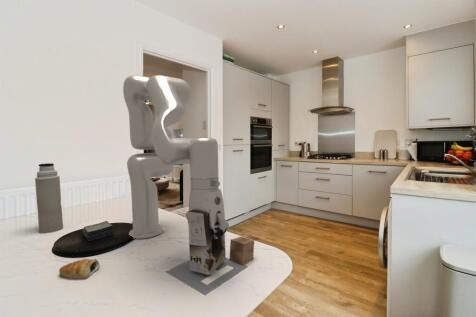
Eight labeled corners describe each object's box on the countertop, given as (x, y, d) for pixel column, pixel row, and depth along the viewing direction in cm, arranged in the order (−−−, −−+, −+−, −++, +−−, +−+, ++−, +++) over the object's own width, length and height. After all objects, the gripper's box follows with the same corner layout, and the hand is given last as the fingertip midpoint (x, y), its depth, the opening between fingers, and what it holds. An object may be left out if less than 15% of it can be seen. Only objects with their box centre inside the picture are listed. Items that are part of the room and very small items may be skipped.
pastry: (52, 280, 63) (51, 266, 62) (70, 267, 69) (69, 254, 69) (87, 280, 63) (87, 266, 62) (102, 267, 69) (101, 254, 69)
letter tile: (165, 273, 65) (165, 271, 65) (209, 252, 77) (208, 250, 77) (205, 297, 54) (205, 295, 54) (248, 268, 67) (248, 266, 67)
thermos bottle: (58, 225, 106) (53, 162, 104) (66, 228, 102) (61, 163, 100) (35, 231, 99) (30, 164, 97) (43, 234, 95) (38, 164, 93)
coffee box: (209, 275, 61) (207, 213, 60) (189, 270, 64) (186, 211, 62) (226, 259, 69) (224, 204, 68) (207, 255, 72) (205, 202, 71)
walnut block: (229, 260, 70) (230, 239, 70) (240, 255, 74) (241, 236, 74) (242, 265, 67) (243, 244, 67) (253, 260, 71) (254, 240, 71)
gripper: (238, 185, 61) (239, 251, 63) (194, 179, 73) (196, 235, 74) (217, 189, 56) (219, 263, 57) (173, 182, 67) (176, 244, 68)
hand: (206, 247), depth 65 cm, fingers closed on coffee box, 7 cm apart
